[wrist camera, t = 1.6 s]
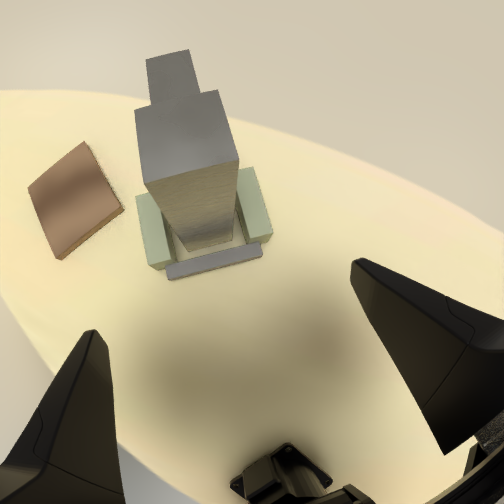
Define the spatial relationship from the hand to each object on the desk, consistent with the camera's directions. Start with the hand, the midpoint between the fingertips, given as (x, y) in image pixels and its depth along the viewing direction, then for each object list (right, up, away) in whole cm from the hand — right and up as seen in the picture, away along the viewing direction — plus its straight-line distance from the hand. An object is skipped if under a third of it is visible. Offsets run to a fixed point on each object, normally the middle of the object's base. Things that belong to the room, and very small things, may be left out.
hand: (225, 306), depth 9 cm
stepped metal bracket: (-3, +5, +14) cm, 15 cm away
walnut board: (-15, +6, +13) cm, 20 cm away
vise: (-3, +4, +13) cm, 14 cm away
